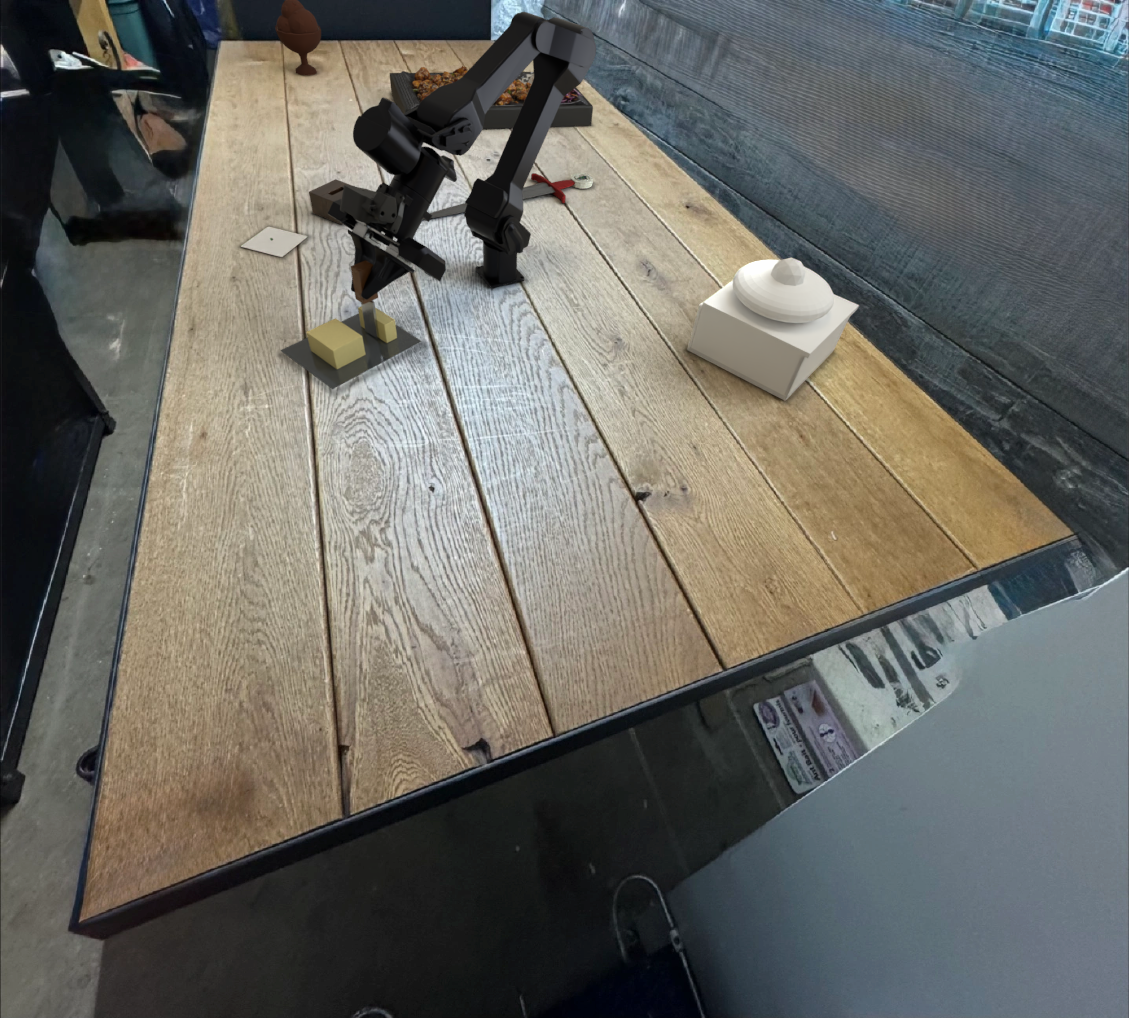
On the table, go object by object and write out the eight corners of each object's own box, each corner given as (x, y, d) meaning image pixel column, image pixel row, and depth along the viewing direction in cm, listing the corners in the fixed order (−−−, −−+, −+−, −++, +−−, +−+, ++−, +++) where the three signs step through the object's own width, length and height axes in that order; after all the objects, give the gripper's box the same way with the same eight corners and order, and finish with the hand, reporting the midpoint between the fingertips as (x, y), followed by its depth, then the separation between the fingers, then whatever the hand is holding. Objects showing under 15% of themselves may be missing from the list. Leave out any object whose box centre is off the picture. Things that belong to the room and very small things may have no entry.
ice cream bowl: (275, 74, 166) (259, 1, 155) (299, 62, 173) (286, -9, 162) (313, 81, 165) (299, 9, 154) (335, 69, 172) (324, -1, 161)
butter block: (339, 336, 97) (335, 318, 94) (365, 354, 94) (362, 335, 92) (310, 350, 94) (305, 331, 92) (337, 369, 92) (332, 350, 89)
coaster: (308, 236, 116) (307, 232, 115) (281, 257, 111) (280, 252, 110) (268, 226, 117) (267, 222, 116) (240, 246, 112) (239, 242, 111)
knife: (373, 327, 99) (363, 258, 90) (385, 335, 98) (376, 266, 89) (359, 333, 97) (347, 264, 89) (371, 342, 96) (361, 272, 88)
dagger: (394, 194, 129) (393, 186, 128) (583, 175, 142) (583, 167, 141) (409, 222, 122) (408, 213, 121) (606, 199, 135) (607, 191, 134)
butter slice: (371, 321, 100) (368, 302, 97) (397, 338, 98) (395, 319, 95) (360, 326, 99) (357, 307, 96) (386, 343, 96) (384, 324, 94)
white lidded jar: (740, 307, 112) (769, 216, 100) (836, 352, 106) (880, 261, 94) (686, 350, 103) (711, 255, 91) (788, 403, 96) (830, 308, 84)
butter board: (370, 312, 103) (369, 307, 102) (422, 345, 98) (421, 341, 98) (281, 354, 94) (280, 350, 93) (333, 393, 90) (332, 388, 89)
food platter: (561, 90, 176) (564, 45, 168) (591, 125, 161) (596, 77, 153) (391, 93, 164) (386, 44, 156) (407, 131, 149) (402, 80, 142)
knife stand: (367, 211, 124) (364, 189, 121) (341, 225, 120) (337, 203, 116) (339, 200, 126) (335, 178, 123) (312, 213, 121) (308, 191, 118)
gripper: (325, 135, 85) (272, 244, 87) (422, 185, 78) (362, 301, 81) (381, 180, 95) (332, 277, 98) (471, 228, 88) (417, 330, 91)
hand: (358, 294), depth 91 cm, fingers closed on knife, 2 cm apart
